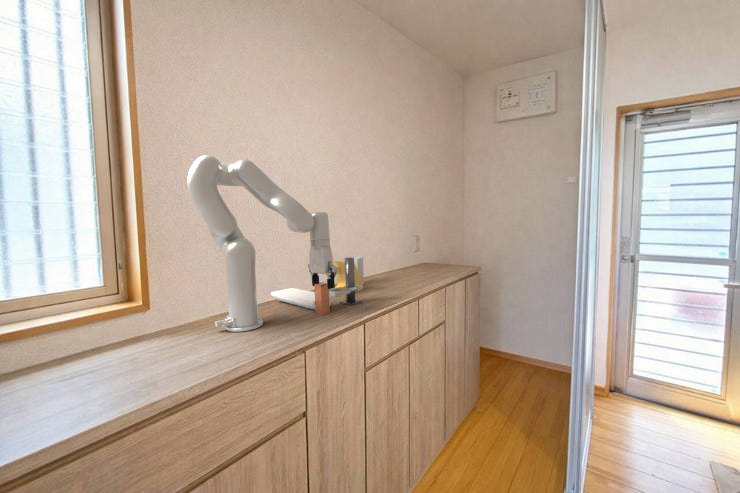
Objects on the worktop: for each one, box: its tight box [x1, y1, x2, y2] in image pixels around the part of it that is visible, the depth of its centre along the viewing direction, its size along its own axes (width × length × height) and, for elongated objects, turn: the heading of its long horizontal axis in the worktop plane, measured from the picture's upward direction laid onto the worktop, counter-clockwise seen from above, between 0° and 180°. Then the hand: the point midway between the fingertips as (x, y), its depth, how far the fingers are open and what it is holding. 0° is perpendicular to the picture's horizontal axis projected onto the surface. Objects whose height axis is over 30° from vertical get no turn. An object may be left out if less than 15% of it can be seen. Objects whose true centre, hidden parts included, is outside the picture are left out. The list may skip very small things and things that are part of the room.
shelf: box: [270, 287, 336, 311], centre depth 147 cm, size 12×30×5 cm, turn 48°
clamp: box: [333, 261, 364, 298], centre depth 170 cm, size 20×9×16 cm, turn 151°
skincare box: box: [352, 256, 365, 285], centre depth 186 cm, size 8×7×16 cm
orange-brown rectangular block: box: [313, 281, 331, 316], centre depth 133 cm, size 4×4×12 cm
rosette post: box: [329, 256, 363, 307], centre depth 146 cm, size 17×8×20 cm, turn 136°
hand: (323, 286), depth 133 cm, fingers open, 9 cm apart
